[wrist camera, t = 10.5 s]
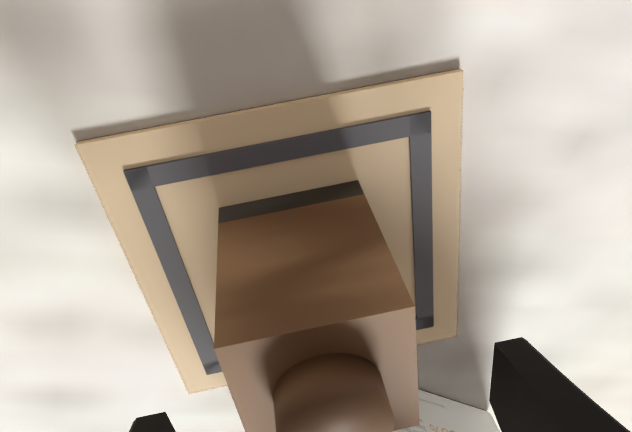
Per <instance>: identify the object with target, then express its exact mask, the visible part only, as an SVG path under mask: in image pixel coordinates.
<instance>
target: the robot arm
mask: <svg viewBox="0 0 632 432" xmlns="http://www.w3.org/2000/svg"><path fill="white" fill-rule="evenodd" d="M489 401H490V404H491V406H492V409H493V411H494V414H495V416H496V419H497V421H498V424H499V426H500V429H501V431H502V432H630V431H629V430H628V429H626V428H625V427H624V426H623V425H621V424H620V423H619V422H618V421H617V420H615V419H614V418H613V417H612V416H611V415H610V414H608V413H607V412H606V411H605V410H604V409H602V408H601V407H600V406H599V405H598V404H596V403H595V402H594V401H593V400H592V399H591V398H589V397H588V396H587V395H586V394H585V393H584V392H583V391H581V390H580V389H579V388H578V387H577V386H576V385H575V384H574V383H572V382H571V381H570V380H569V379H568V378H567V377H566V376H565V375H563V374H562V373H561V372H560V371H559V370H558V369H557V368H556V367H555V366H554V365H552V364H551V363H550V362H549V361H548V360H547V359H546V358H545V357H544V356H543V355H542V354H541V353H540V352H538V351H537V350H536V349H535V348H534V347H533V346H532V345H531V344H530V343H529V342H528V341H527V340H525V339H524V338H522V337H521V338H516V339H511V340H506V341H502V342H497V343H495V345H494V356H493V367H492V378H491V389H490V400H489ZM129 432H175V430H174V428H173V426H172V424H171V422H170V420H169V418H168V416H167V414H166V412H163V413H158V414H153V415H148V416H144V417H139V418H136V420H135V421H134V422H133V424H132V426H131V429H130V431H129Z"/></svg>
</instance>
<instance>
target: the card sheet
mask: <svg viewBox="0 0 632 432" xmlns="http://www.w3.org/2000/svg"><path fill="white" fill-rule="evenodd" d="M462 106H463V70H461V69H457V70H451V71H446V72H441V73H436V74H430V75H425V76H420V77H415V78H409V79H404V80H399V81H394V82H388V83H383V84H378V85H373V86H367V87H362V88H357V89H352V90H346V91H341V92H336V93H331V94H325V95H320V96H315V97H310V98H305V99H299V100H294V101H289V102H284V103H278V104H273V105H268V106H263V107H257V108H252V109H247V110H242V111H236V112H231V113H226V114H221V115H215V116H210V117H205V118H200V119H194V120H189V121H184V122H179V123H174V124H168V125H163V126H158V127H153V128H147V129H142V130H137V131H132V132H126V133H121V134H116V135H111V136H105V137H100V138H95V139H90V140H84V141H79V142H77V143H76V144H75V147H76V149H77V151H78V153H79V155H80V158H81V160H82V162H83V164H84V166H85V168H86V171H87V173H88V175H89V177H90V179H91V182H92V184H93V186H94V188H95V190H96V192H97V195H98V197H99V199H100V201H101V203H102V206H103V208H104V210H105V212H106V214H107V216H108V219H109V221H110V223H111V225H112V227H113V230H114V232H115V234H116V236H117V238H118V241H119V243H120V245H121V247H122V249H123V251H124V254H125V256H126V258H127V260H128V262H129V265H130V267H131V269H132V271H133V273H134V275H135V278H136V280H137V282H138V284H139V286H140V289H141V291H142V293H143V295H144V297H145V299H146V302H147V304H148V306H149V308H150V310H151V313H152V315H153V317H154V319H155V321H156V324H157V326H158V328H159V330H160V332H161V334H162V337H163V339H164V341H165V343H166V345H167V348H168V350H169V352H170V354H171V356H172V358H173V361H174V363H175V365H176V367H177V369H178V372H179V374H180V376H181V378H182V380H183V383H184V385H185V387H186V389H187V391H188V393H189V394H192V393H196V392H201V391H206V390H210V389H215V388H220V387H224V386H228V385H227V382H226V379H225V377H224V374H223V371H222V369H221V366H220V364H219V361H218V358H217V356H216V353H215V350H214V333H215V303H216V274H217V245H218V215H219V208H220V207H225V206H230V205H235V204H240V203H245V202H250V201H255V200H260V199H265V198H270V197H275V196H280V195H285V194H290V193H295V192H300V191H305V190H310V189H315V188H320V187H325V186H330V185H335V184H340V183H345V182H350V181H356V180H358V181H359V183H360V186H361V188H362V190H363V192H364V194H365V197H366V199H367V201H368V203H369V206H370V208H371V210H372V212H373V214H374V217H375V219H376V221H377V223H378V226H379V228H380V230H381V232H382V234H383V237H384V239H385V241H386V243H387V245H388V248H389V250H390V252H391V254H392V257H393V259H394V261H395V263H396V265H397V268H398V270H399V272H400V274H401V277H402V279H403V281H404V283H405V285H406V288H407V290H408V292H409V294H410V296H411V299H412V301H413V303H414V305H415V319H416V344H417V345H420V344H424V343H429V342H434V341H438V340H443V339H447V338H452V337H457V301H458V262H459V223H460V184H461V145H462Z"/></svg>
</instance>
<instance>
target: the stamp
mask: <svg viewBox="0 0 632 432" xmlns="http://www.w3.org/2000/svg"><path fill="white" fill-rule="evenodd" d="M214 350H215V353H216V356H217V358H218V361H219V364H220V366H221V369H222V371H223V374H224V377H225V379H226V382H227V385H228V387H229V390H230V392H231V395H232V398H233V400H234V403H235V406H236V408H237V411H238V413H239V416H240V419H241V421H242V424H243V427H244V429H245V432H393V431H396V430H401V429H405V428H410V427H414V426H419V425H420V418H419V394H418V369H417V344H416V319H415V305H414V303H413V301H412V299H411V296H410V294H409V292H408V290H407V288H406V285H405V283H404V281H403V279H402V277H401V274H400V272H399V270H398V268H397V265H396V263H395V261H394V259H393V257H392V254H391V252H390V250H389V248H388V245H387V243H386V241H385V239H384V237H383V234H382V232H381V230H380V228H379V226H378V223H377V221H376V219H375V217H374V214H373V212H372V210H371V208H370V206H369V203H368V201H367V199H366V197H365V194H364V192H363V190H362V188H361V186H360V183H359V181H358V180H356V181H350V182H345V183H340V184H335V185H330V186H325V187H320V188H315V189H310V190H305V191H300V192H295V193H290V194H285V195H280V196H275V197H270V198H265V199H260V200H255V201H250V202H245V203H240V204H235V205H230V206H225V207H220V208H219V215H218V245H217V274H216V303H215V333H214Z"/></svg>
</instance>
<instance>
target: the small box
mask: <svg viewBox="0 0 632 432" xmlns="http://www.w3.org/2000/svg"><path fill="white" fill-rule="evenodd" d="M418 394H419V418H420V425H419V426H414V427H410V428H405V429H401V430H396V431H393V432H500V431H499V430H498V428H497V426H496V424H495V422H494V420H493V418H492V416H491V414H490V413H489V412H487V411H485V410H481V409H478V408H475V407H471V406H468V405H465V404H462V403H459V402H456V401H453V400H450V399H447V398H443V397H440V396H437V395H434V394H431V393H428V392H425V391H422V390H419V389H418Z"/></svg>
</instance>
